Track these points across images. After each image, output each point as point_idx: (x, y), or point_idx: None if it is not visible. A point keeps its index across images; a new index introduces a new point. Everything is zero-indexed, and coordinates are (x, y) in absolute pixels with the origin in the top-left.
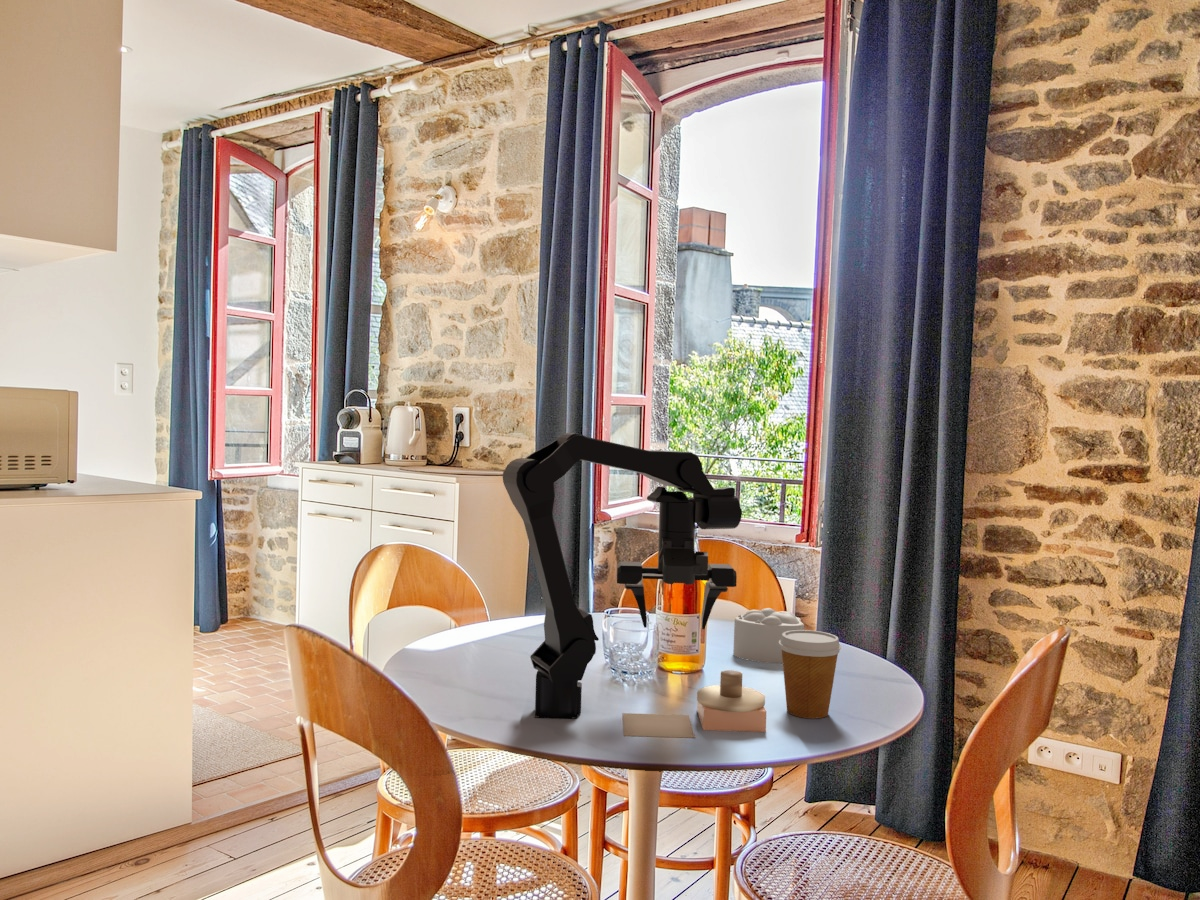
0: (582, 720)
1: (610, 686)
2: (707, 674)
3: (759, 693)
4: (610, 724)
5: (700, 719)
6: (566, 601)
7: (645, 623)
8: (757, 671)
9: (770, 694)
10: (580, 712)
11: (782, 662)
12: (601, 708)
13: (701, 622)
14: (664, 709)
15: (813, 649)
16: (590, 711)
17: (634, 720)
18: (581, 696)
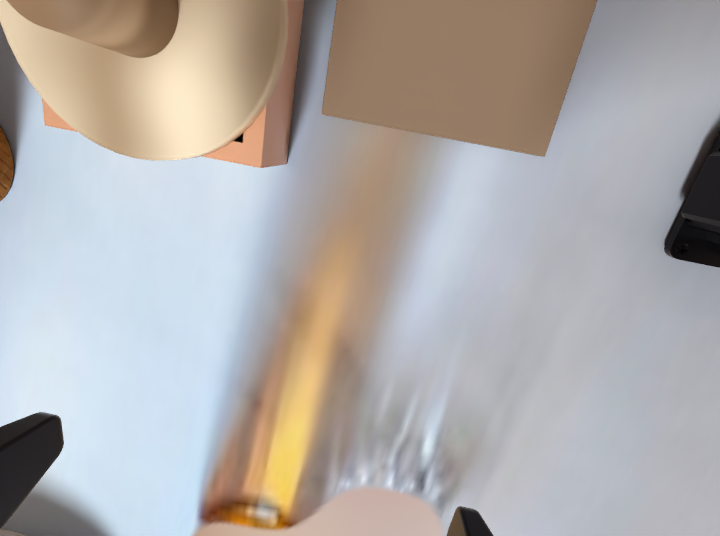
0: (693, 135)
1: (475, 439)
2: (192, 487)
3: (10, 17)
4: (609, 80)
5: (294, 41)
6: None
7: (475, 533)
8: (68, 488)
9: (50, 319)
10: (711, 154)
11: (4, 532)
12: (575, 254)
13: (29, 481)
14: (376, 222)
15: None
16: (624, 228)
17: (530, 67)
18: (716, 217)
